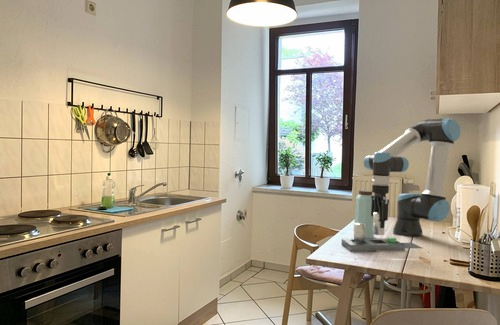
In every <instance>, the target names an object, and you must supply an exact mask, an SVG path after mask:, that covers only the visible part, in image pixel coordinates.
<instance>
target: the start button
mask: <svg viewBox="0 0 500 325" xmlns="http://www.w3.org/2000/svg"><path fill="white" fill-rule="evenodd" d="M396 241H397V238H396V237H391V236H390V237H387V242H388V243H396Z"/></svg>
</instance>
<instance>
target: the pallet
mask: <svg viewBox="0 0 500 325" xmlns="http://www.w3.org/2000/svg"><path fill="white" fill-rule="evenodd" d="M387 238H388V237H387ZM387 238H374V237H373V238H365V242H364V244H355V243H354V242H353V241H354V237H352V238H350V237H349V238H345V237H344V238H341V246H343V247H344V248H345V249H346V250H348V251H349V252H352V251H355V252H356V251H367V253H368V252H371V253H373V252H379V251H406V248H405V245H404V244H402V243H403V242H400V241H398V240H396V243H388V242H387Z"/></svg>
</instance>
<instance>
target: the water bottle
mask: <svg viewBox="0 0 500 325" xmlns="http://www.w3.org/2000/svg"><path fill="white" fill-rule="evenodd" d="M371 196H374V195H373V192H372V190H365V189H361V190H358V194H357V196H355V205H354V223H363V224H365V238H374V236H375V234H373V217H372V216H371V204H372V199H371Z"/></svg>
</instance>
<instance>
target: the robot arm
mask: <svg viewBox="0 0 500 325" xmlns="http://www.w3.org/2000/svg"><path fill="white" fill-rule="evenodd" d="M461 132H462V131H461V126H460V124H459V122H458V121H457V120H456V119H455V118H447V117H445V118H433V119H432V118H431V119H430V118H429V119H424V120H420V121H419V122H417V123H415V124H412V125H411V126H410V127H409V128H407V129H406V130H405V131H404V133H403V134H402V135H400V136H399V137H397V138H396V139H394V140H393V141H392V142H391V143H389V144H388V145H386V146H385V147H383V148H382V149H381V150H379V151H376V152H374V153H373V155H372V154H370V155H367V156H365V157H364V159H363V166H364V167H365V169H366V170H368V171H369V170H370V171H372V177H371V180H372V185H371V191H372V194H374V195H373V196H371V199H372V204H371V216H372V217H373V215H374V212H379V218H380V220H378V221H379V222H378V235H377V236H383V235H385V225H386V224H385V222H386V221H388V220H389V204H390V199H387V196H386V194H389V191H390V186H389V185H390V174H391V173H403V172H406V171H407V170H408V168H409V164H410V163H409V160H408V158H406V157H404V156H400V155H401V154H402V153H404V152H405V151H406V150H408V149H409V148H411V147H412V146H413V145H418V144H420V142H426V141H428V144H429V145H430V146H431V149H430V155H429V161H428V168H427V175H426V182H425V188H424V191H422V192H421V193H418V192H417V193H416V192H415V193H399V195H398V196H397V209H396V210H397V211H396V213H397V214H396V222H395V224H394V226H393V228H392V234H395V235H396V236H399V237H400V236H403V237H412V238H413V237H417V238H419V237H422V236H423V229H422V225H421V222H420V221H421V220H420V219H423V220H426V221H431V222H439V223H440V222H443V221H444V220H445V219H446V218H447V217H448V215H449V213H450V207H451V206H450V202H449V201H448V200H447V199H446V198H447V196H446V195H445V194H444V190H445V185H446V184H445V182H446V176H447V170H448V163H449V162H448V161H449V155H450V149H451V147H453V146H454V144H455V142H456V141H458V140H459V138H460V137H461Z"/></svg>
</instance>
